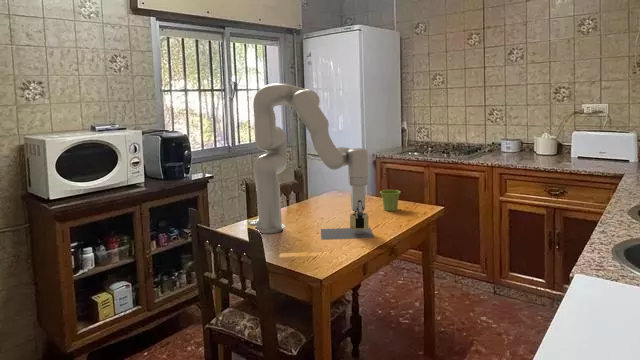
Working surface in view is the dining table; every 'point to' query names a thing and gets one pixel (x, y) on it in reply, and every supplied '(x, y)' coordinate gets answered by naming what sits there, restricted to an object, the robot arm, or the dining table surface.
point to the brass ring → (353, 221)
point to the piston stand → (346, 233)
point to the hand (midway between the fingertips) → (359, 224)
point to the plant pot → (390, 199)
